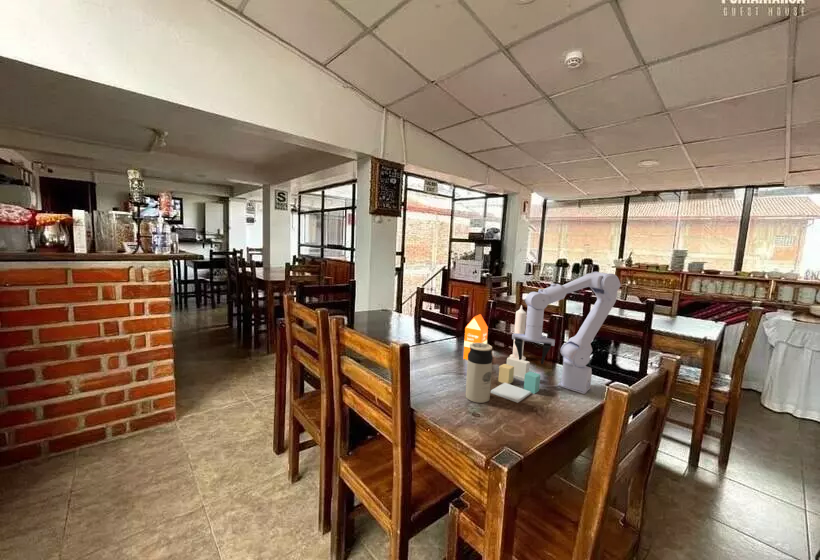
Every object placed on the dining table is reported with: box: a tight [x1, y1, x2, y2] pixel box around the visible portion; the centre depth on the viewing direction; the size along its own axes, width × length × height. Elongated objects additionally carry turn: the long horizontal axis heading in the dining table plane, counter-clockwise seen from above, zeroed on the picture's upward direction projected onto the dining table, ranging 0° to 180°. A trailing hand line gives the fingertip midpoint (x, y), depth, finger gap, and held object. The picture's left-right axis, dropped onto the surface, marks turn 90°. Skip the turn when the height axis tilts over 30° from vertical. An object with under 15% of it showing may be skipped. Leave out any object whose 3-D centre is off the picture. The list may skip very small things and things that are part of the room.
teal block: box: [523, 370, 541, 395], centre depth 117 cm, size 4×4×6 cm
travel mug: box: [465, 343, 493, 404], centre depth 108 cm, size 8×8×18 cm
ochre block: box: [497, 363, 514, 385], centre depth 124 cm, size 4×4×6 cm
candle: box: [509, 304, 527, 361], centre depth 150 cm, size 7×7×25 cm
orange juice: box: [462, 313, 489, 361], centre depth 147 cm, size 8×9×20 cm
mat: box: [490, 382, 532, 404], centre depth 114 cm, size 10×10×1 cm
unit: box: [506, 356, 531, 382], centre depth 129 cm, size 10×5×7 cm, turn 46°
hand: (531, 361), depth 120 cm, fingers open, 7 cm apart
